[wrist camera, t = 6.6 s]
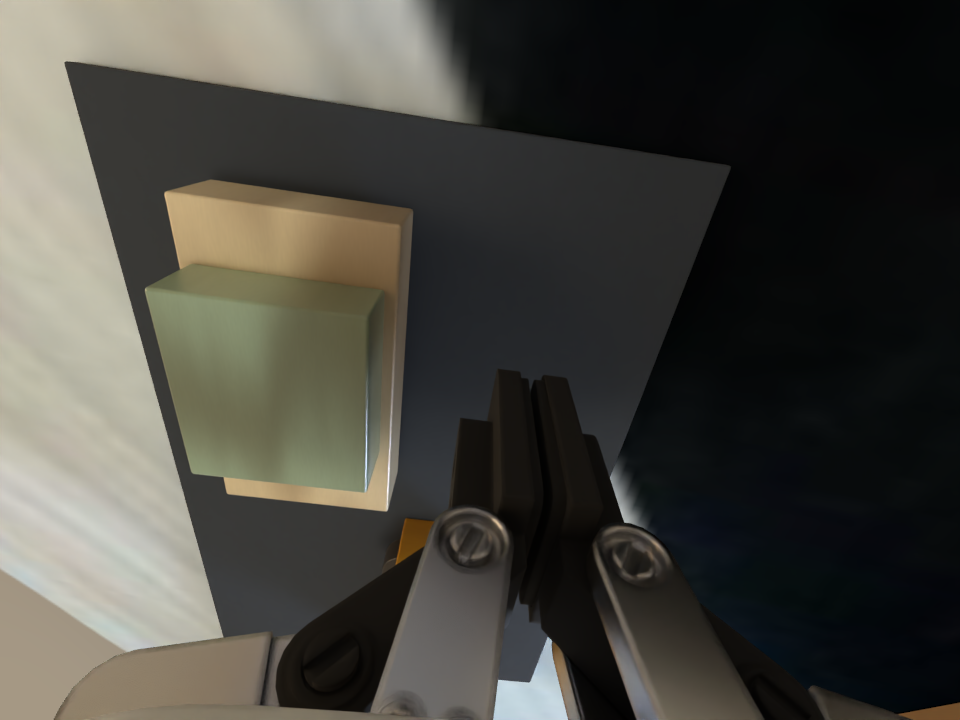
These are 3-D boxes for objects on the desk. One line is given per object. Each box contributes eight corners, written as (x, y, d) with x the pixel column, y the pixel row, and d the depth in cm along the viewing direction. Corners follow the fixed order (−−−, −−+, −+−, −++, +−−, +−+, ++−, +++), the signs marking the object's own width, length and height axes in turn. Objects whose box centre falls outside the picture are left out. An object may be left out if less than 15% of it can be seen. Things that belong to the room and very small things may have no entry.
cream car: (417, 203, 12) (222, 175, 11) (386, 245, 8) (103, 206, 8) (400, 459, 16) (261, 443, 16) (376, 557, 13) (196, 538, 12)
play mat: (76, 62, 10) (62, 61, 10) (724, 164, 11) (732, 166, 11) (232, 647, 23) (228, 655, 23) (529, 674, 24) (530, 682, 24)
